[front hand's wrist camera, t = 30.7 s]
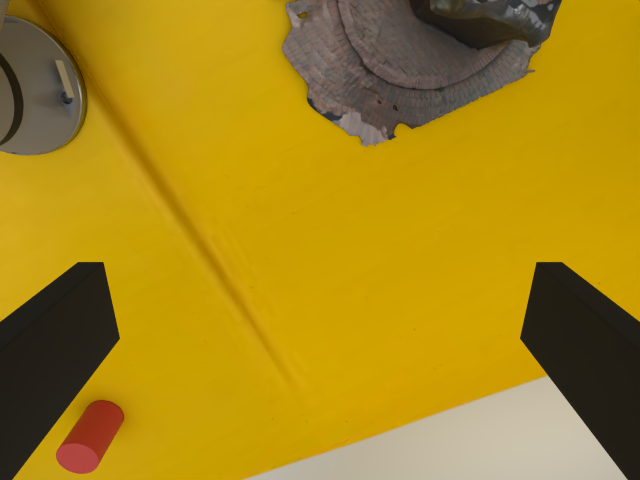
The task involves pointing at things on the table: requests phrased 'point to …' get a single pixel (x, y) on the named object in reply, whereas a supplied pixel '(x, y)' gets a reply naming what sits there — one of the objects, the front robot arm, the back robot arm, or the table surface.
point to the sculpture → (410, 56)
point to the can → (90, 437)
